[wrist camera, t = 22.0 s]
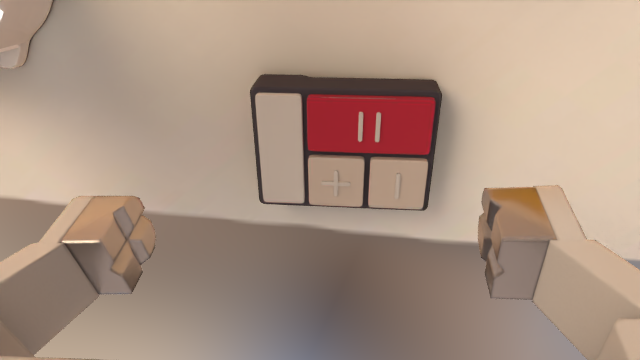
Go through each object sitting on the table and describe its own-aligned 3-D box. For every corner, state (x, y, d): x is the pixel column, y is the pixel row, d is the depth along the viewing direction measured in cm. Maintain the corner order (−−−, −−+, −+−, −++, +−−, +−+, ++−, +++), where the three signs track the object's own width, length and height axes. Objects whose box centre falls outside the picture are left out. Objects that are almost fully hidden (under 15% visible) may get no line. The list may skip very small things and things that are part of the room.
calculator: (428, 216, 39) (257, 209, 41) (423, 191, 43) (266, 184, 44) (444, 94, 34) (246, 89, 35) (437, 77, 38) (258, 73, 39)
